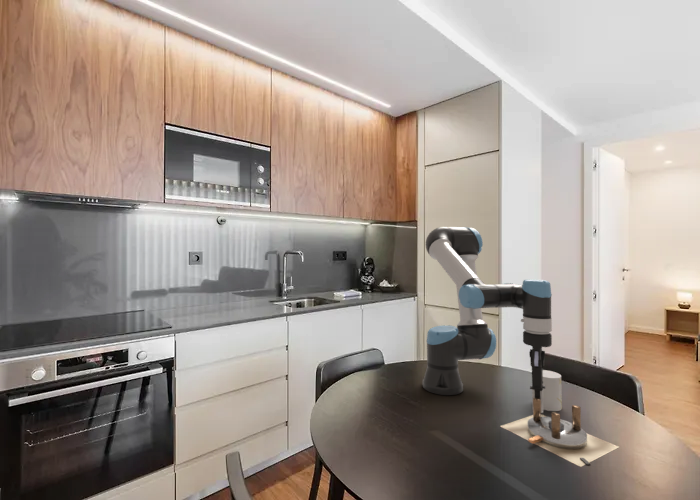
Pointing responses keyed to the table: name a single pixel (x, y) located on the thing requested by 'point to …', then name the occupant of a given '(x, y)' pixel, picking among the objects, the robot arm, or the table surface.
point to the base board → (576, 456)
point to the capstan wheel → (557, 428)
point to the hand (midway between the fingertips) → (537, 410)
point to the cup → (552, 391)
